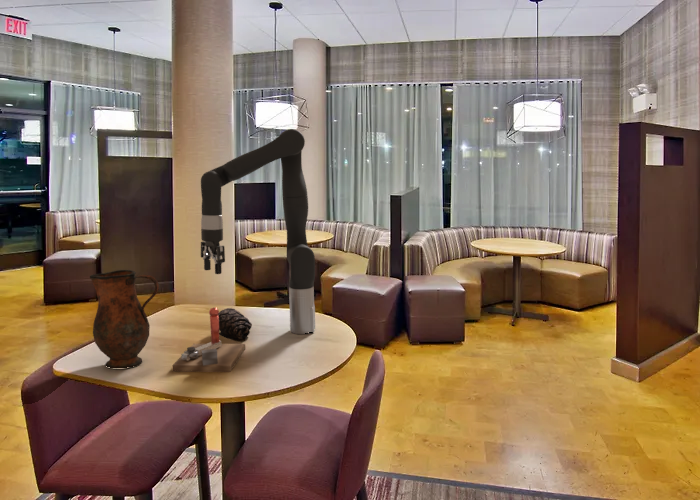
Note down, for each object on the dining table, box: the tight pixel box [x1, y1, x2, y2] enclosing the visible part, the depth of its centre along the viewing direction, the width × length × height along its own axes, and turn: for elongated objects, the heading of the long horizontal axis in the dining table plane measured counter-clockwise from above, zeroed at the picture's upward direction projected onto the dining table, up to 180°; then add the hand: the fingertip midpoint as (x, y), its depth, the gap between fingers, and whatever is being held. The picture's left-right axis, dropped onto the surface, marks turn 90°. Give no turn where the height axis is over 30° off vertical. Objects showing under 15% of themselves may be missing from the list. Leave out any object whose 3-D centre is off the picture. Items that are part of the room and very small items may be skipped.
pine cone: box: [218, 307, 253, 343], centre depth 199 cm, size 10×18×10 cm, turn 49°
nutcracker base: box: [171, 343, 247, 373], centre depth 175 cm, size 18×20×6 cm
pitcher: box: [89, 269, 160, 369], centre depth 170 cm, size 17×21×30 cm
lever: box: [180, 307, 223, 361], centre depth 174 cm, size 16×4×14 cm, turn 150°
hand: (212, 271), depth 194 cm, fingers open, 8 cm apart
